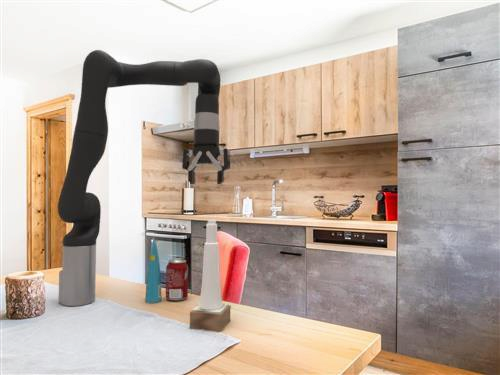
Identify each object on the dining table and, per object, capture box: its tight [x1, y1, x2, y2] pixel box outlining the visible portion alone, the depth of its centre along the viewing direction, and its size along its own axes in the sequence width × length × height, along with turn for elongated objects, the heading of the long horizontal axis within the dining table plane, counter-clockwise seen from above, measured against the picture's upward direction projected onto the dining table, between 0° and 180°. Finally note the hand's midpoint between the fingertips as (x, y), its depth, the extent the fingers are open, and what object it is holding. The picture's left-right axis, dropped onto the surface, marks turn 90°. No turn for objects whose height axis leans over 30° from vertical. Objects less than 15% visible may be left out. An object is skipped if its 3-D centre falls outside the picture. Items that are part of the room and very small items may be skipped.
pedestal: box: [189, 302, 232, 332], centre depth 93 cm, size 8×8×4 cm
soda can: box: [165, 258, 189, 302], centre depth 116 cm, size 7×7×12 cm
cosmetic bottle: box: [198, 218, 224, 310], centre depth 93 cm, size 6×6×22 cm
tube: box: [144, 237, 163, 304], centre depth 113 cm, size 7×5×19 cm, turn 23°
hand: (205, 184), depth 109 cm, fingers open, 8 cm apart
